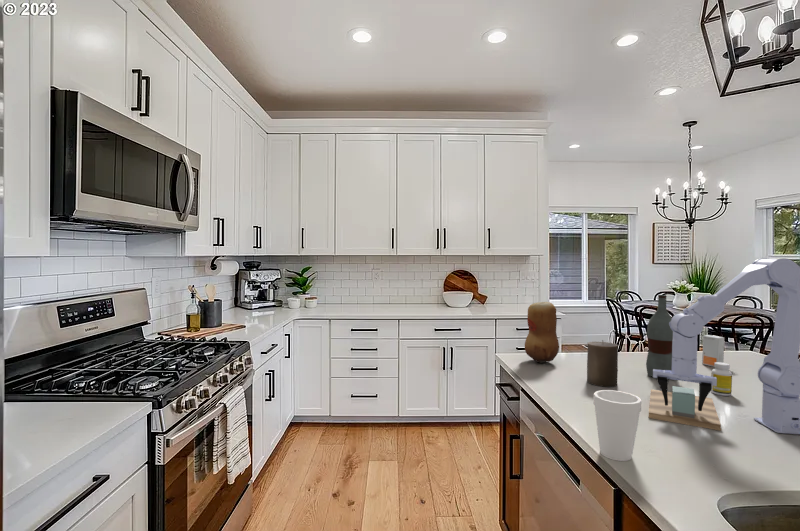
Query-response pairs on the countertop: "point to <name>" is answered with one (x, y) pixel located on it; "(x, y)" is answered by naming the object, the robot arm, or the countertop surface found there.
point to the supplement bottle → (722, 379)
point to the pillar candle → (602, 364)
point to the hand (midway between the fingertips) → (682, 407)
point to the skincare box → (712, 350)
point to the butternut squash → (542, 332)
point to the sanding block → (683, 402)
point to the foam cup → (616, 423)
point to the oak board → (663, 412)
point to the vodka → (659, 339)
